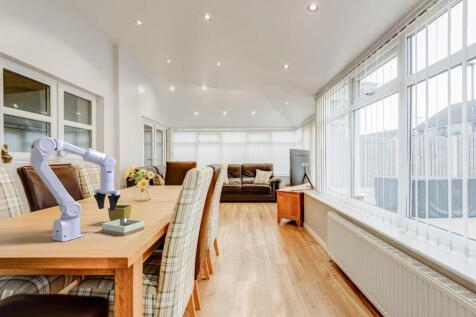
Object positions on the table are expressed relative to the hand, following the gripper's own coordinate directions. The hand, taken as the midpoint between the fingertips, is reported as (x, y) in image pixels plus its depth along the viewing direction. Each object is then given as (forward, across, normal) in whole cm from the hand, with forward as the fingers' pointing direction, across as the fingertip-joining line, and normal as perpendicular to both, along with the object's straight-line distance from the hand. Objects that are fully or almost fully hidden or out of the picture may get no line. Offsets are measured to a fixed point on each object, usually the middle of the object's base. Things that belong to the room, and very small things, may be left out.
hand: (106, 209), depth 123 cm
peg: (+10, -8, -3) cm, 13 cm away
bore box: (+10, -8, -3) cm, 13 cm away
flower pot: (+10, +5, -12) cm, 16 cm away
